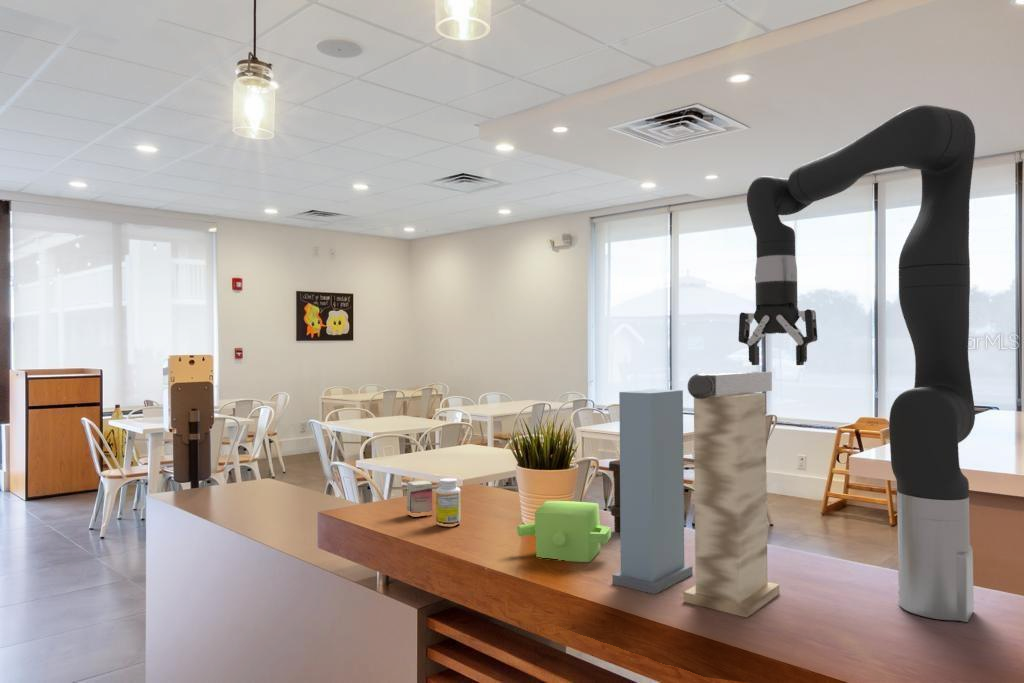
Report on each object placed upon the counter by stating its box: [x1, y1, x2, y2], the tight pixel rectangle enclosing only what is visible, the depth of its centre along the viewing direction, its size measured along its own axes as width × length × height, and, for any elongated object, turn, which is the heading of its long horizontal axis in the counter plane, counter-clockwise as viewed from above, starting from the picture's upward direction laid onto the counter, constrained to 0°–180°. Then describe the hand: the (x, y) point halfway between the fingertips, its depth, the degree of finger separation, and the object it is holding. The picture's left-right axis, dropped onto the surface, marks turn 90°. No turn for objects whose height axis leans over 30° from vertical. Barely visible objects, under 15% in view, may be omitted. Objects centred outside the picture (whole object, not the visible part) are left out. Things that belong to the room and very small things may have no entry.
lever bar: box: [687, 371, 773, 399], centre depth 110 cm, size 4×26×4 cm, turn 139°
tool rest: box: [683, 392, 780, 618], centre depth 109 cm, size 10×13×32 cm
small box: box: [406, 480, 433, 513], centre depth 165 cm, size 5×4×8 cm
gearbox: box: [516, 500, 612, 563], centre depth 132 cm, size 18×10×10 cm, turn 70°
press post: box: [611, 388, 693, 595], centre depth 118 cm, size 8×13×32 cm, turn 139°
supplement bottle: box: [435, 477, 462, 524], centre depth 156 cm, size 6×6×10 cm
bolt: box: [608, 459, 620, 533], centre depth 150 cm, size 6×5×15 cm
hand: (777, 365), depth 133 cm, fingers open, 8 cm apart
